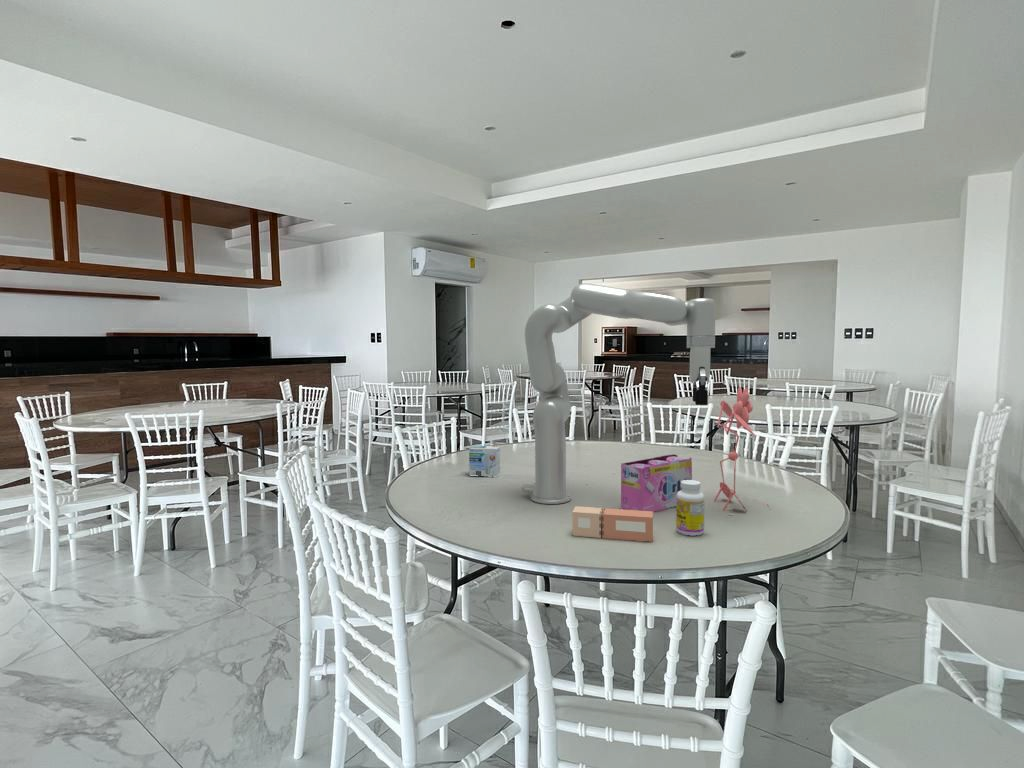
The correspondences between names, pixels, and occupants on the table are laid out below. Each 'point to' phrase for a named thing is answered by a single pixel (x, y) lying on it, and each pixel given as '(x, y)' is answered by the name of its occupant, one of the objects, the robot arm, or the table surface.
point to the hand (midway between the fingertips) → (699, 403)
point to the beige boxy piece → (587, 521)
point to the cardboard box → (627, 524)
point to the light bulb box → (484, 460)
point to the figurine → (742, 418)
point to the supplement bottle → (690, 509)
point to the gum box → (653, 482)
